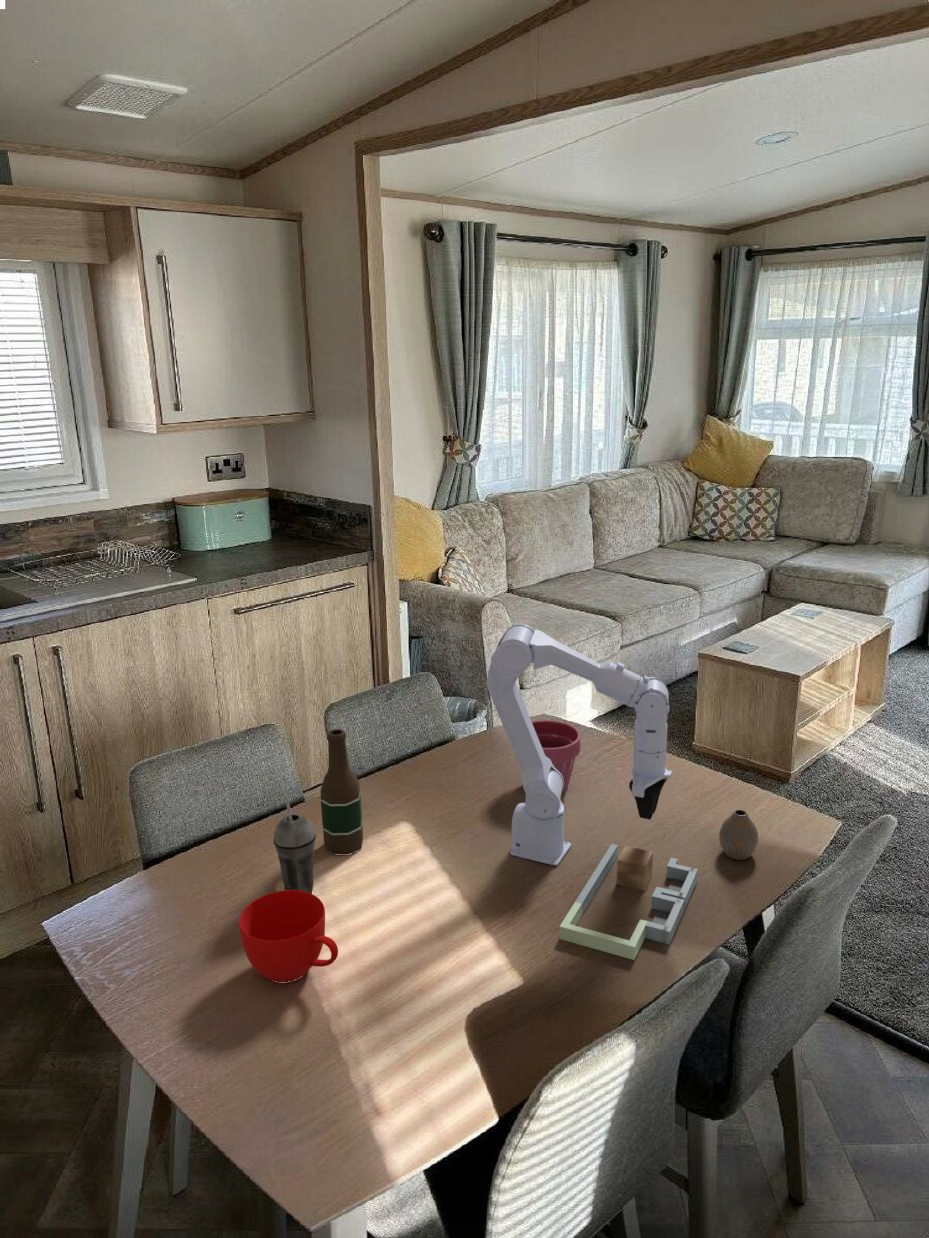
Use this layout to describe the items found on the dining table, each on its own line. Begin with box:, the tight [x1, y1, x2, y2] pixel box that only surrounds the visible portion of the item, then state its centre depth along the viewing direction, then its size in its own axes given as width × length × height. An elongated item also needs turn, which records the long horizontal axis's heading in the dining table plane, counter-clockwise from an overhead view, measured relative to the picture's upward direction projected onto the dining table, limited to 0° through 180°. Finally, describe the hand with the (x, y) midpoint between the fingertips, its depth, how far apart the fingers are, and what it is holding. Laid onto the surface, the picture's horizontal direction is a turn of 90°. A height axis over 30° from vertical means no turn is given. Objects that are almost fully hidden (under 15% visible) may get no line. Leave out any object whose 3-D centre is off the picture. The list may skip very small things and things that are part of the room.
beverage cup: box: [272, 796, 317, 894], centre depth 156 cm, size 7×7×20 cm
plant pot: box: [531, 719, 582, 795], centre depth 193 cm, size 14×14×13 cm
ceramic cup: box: [238, 889, 339, 982], centre depth 138 cm, size 13×17×10 cm
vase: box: [718, 808, 759, 861], centre depth 167 cm, size 7×7×9 cm
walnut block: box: [616, 845, 654, 891], centre depth 161 cm, size 5×5×5 cm
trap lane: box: [559, 843, 699, 961], centre depth 154 cm, size 16×27×2 cm, turn 153°
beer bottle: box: [320, 728, 364, 855], centre depth 171 cm, size 8×8×24 cm
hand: (647, 814), depth 165 cm, fingers closed
